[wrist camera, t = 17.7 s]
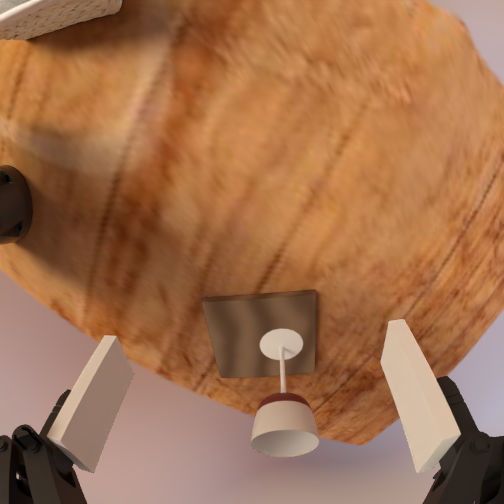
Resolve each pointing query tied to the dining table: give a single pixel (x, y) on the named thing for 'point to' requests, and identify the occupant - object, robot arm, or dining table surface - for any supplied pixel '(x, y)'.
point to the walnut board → (260, 331)
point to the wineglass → (283, 406)
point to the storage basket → (48, 15)
